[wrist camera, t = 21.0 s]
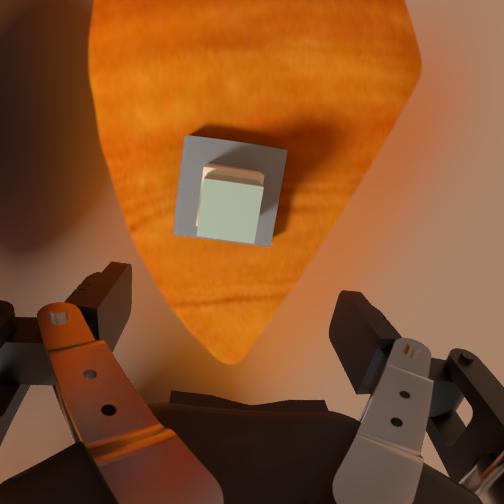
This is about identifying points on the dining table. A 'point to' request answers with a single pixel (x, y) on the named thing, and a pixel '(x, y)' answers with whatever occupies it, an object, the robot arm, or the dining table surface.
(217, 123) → the dining table surface
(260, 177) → the birch block
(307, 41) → the dining table surface
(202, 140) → the slate plinth
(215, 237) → the sage block
